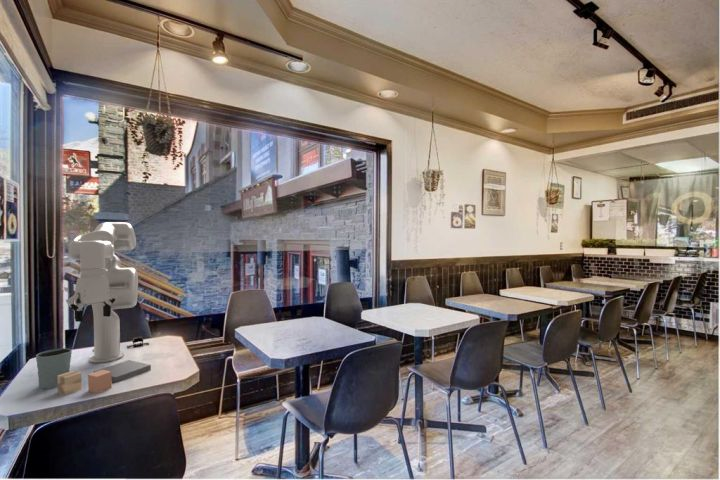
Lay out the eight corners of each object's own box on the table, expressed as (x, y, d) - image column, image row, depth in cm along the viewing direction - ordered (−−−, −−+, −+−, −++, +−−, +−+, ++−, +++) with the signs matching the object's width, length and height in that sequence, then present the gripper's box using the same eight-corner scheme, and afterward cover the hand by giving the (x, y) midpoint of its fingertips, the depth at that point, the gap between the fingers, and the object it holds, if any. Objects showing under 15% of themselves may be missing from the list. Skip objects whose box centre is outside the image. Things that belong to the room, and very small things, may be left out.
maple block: (57, 392, 126) (57, 375, 126) (73, 386, 130) (73, 370, 130) (65, 394, 124) (65, 377, 124) (81, 389, 128) (81, 372, 128)
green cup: (30, 391, 127) (29, 358, 127) (46, 380, 136) (45, 349, 136) (63, 387, 130) (63, 355, 129) (77, 377, 139) (76, 346, 139)
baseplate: (93, 376, 140) (93, 371, 140) (129, 364, 152) (129, 360, 152) (115, 382, 134) (115, 377, 134) (150, 369, 147) (150, 364, 147)
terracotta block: (88, 391, 127) (88, 374, 127) (103, 385, 131) (103, 369, 131) (96, 393, 125) (96, 376, 125) (111, 388, 129) (111, 371, 129)
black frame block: (123, 350, 172) (123, 341, 172) (122, 347, 178) (122, 338, 178) (153, 345, 180) (152, 337, 180) (151, 342, 186) (151, 333, 186)
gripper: (110, 271, 143) (110, 314, 143) (60, 275, 127) (60, 323, 127) (122, 271, 140) (122, 315, 140) (73, 275, 124) (73, 324, 124)
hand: (93, 318), depth 133 cm, fingers open, 9 cm apart
